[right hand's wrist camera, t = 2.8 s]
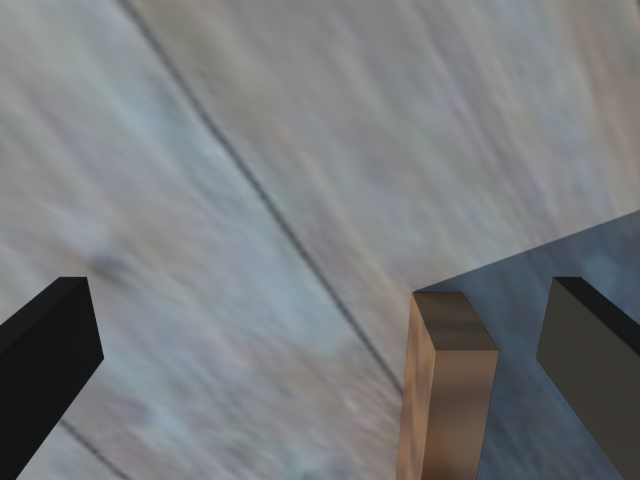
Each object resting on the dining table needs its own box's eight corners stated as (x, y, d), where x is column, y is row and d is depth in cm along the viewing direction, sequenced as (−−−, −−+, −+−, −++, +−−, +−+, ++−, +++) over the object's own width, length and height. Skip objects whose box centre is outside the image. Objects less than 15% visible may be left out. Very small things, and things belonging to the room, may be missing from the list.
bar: (411, 292, 42) (435, 350, 34) (463, 292, 42) (499, 350, 34) (394, 493, 52) (409, 578, 43) (436, 493, 52) (459, 578, 43)
